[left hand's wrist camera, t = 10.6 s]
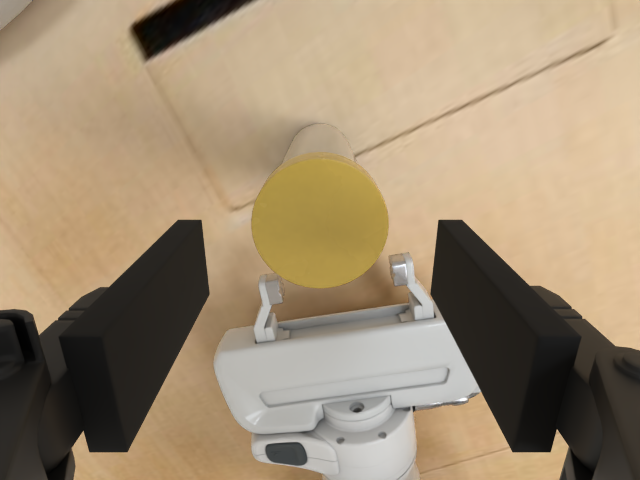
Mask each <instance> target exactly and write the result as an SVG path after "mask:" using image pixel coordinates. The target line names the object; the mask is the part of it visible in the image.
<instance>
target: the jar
mask: <svg viewBox="0 0 640 480" xmlns="http://www.w3.org/2000/svg"><path fill="white" fill-rule="evenodd" d="M311 152H329V153H334V154H338V155H341V156H344V157H346V158H348V159H351V160H352V161H354V162H356V163H357V164H358V162H357V160H356V158H355V156H354V154H353V152H352V149H351V147H350V145H349V143H348V141H347V139H346V137H345V136H344V135H343V133H342V132H341V131H339V130H338V129H337V128H335V127H333V126H331V125H328V124H320V123H319V124H312V125H309V126H307V127H305V128H303V129H302V130H301V131H299V132H298V133H297V135H296V136H295V137H294V139H293V141H292V143H291V145H290V147H289V149H288V151H287V154H286V156H285V158H284V160H283V162H282V164H283V163H284V162H286V161H288V160H290V159H291V158H293V157H296V156H299V155H301V154H306V153H311ZM282 164H281V165H282Z"/></svg>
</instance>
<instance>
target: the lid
mask: <svg viewBox="0 0 640 480" xmlns="http://www.w3.org/2000/svg"><path fill="white" fill-rule="evenodd" d="M251 226H252V235H253V239H254V243H255V246H256V248H257V250H258V252H259V254H260V256H261V257H262V259H263V260H264V261H265V263H266V264H267V265H268V266H269V267H270V268H271V269H272V270H273V271H274V272H275V273H276V274H278V275H279V276H280V277H282V278H284V279H286V280H287V281H289V282H292V283H294V284H297V285H300V286H304V287H309V288H331V287H336V286H340V285H343V284H346V283H348V282H350V281H353V280H355V279H356V278H358V277H359V276H361V275H362V274H363V273H365V272H366V271H367V270H368V269H369V268H370V267H371V266H372V265H373V264H374V263H375V261H376V260H377V259H378V257H379V256H380V254H381V252H382V250H383V248H384V245H385V243H386V239H387V235H388V227H389V223H388V212H387V208H386V204H385V201H384V199H383V197H382V195H381V193H380V191H379V189H378V187H377V185H376V184H375V182H374V181H373V179H372V177H371V176H370V175H369V174H368V173H367V172H366V170H364V169H363V168H362V167H361V166H360V165H359V164H357V163H356V162H354V161H352V160H351V159H348V158H346V157H344V156H341V155H338V154H334V153H329V152H311V153H306V154H301V155H299V156H296V157H293V158H291V159H290V160H288V161H286V162H284V163H283V164H282V165H280V166H279V167H278V168H277V169H276V170H275V171H273V173H272V174H271V175H270V176H269V177H268V179H267V180H266V182H265V184H264V185H263V187H262V189H261V191H260V193H259V195H258V197H257V199H256V201H255V204H254V208H253V211H252V219H251Z"/></svg>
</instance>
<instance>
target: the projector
mask: <svg viewBox="0 0 640 480" xmlns="http://www.w3.org/2000/svg"><path fill="white" fill-rule="evenodd" d="M32 1H33V0H0V30H1V29H3V28H4V27H5V26H6V25H7V24H8V23H9V22H11V21H12V20H13V19H14V18H15V17H16V16H17V15H19V14H20V13H21V12H22V11H23V10H24V9H25V8H26V7H27V6H28V5H29V4H30V3H31V2H32Z"/></svg>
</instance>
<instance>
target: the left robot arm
mask: <svg viewBox="0 0 640 480" xmlns="http://www.w3.org/2000/svg"><path fill="white" fill-rule="evenodd" d="M208 296H209V285H208V276H207V267H206V257H205V248H204V239H203V230H202V221H201V220H178V221H176V222H175V223H174V224H173V225H172V226H171V227H170V228H169V229H168V230H167V231H166V232H165V233H164V234H163V235H162V236H161V237H160V238H159V239H158V240H157V241H156V242H155V243H154V244H153V245H152V246H151V247H150V248H149V249H148V250H147V251H146V252H145V253H144V254H143V255H142V256H141V257H140V258H139V259H138V260H136V261H135V262H134V263H133V264H132V265H131V266H130V267H129V268H128V269H127V270H126V271H125V272H124V273H123V274H122V275H121V276H120V277H119V278H118V279H117V280H116V281H115V282H114V283H113V284H112V285H111V286H110V287H100V288H98V289H96V290H94V291H92V292H90V293H88V294H86V295H84V296H83V297H81V298H80V299H79V300H78V301H77V302H75V303H74V304H73V305H72V306H71V307H70V308H69V311H65V312H64V313H63V314H62V315H61V316H60V317H59V318H58V321H54V322H53V323H52V324H51V325H50V326H49V327H48V328H47V329H46V330H44V331H43V332H42V333H41V334H40V335H39V334H38V331H37V327H36V324H35V321H34V317H33V315H32V314H31V313H29V312H28V311H25V310H17V309H11V310H0V480H73V478H74V472H75V460H74V455H73V452H72V446H73V445H74V443H75V442H76V440H77V439H78V438H79V436H80V435H81V433H82V432H83V430H84V434H85V437H86V441H87V445H88V449H89V452H128V450H129V448H130V446H131V444H132V442H133V440H134V438H135V436H136V434H137V433H138V431H139V429H140V427H141V425H142V423H143V421H144V419H145V417H146V415H147V413H148V411H149V409H150V408H151V406H152V404H153V402H154V400H155V398H156V396H157V394H158V392H159V390H160V388H161V386H162V384H163V383H164V381H165V379H166V377H167V375H168V373H169V371H170V369H171V367H172V365H173V363H174V361H175V359H176V358H177V356H178V354H179V352H180V350H181V348H182V346H183V344H184V342H185V340H186V338H187V336H188V334H189V333H190V331H191V329H192V327H193V325H194V323H195V321H196V319H197V317H198V315H199V313H200V311H201V309H202V308H203V306H204V304H205V302H206V300H207V298H208ZM431 296H432V298H433V300H434V302H435V304H436V306H437V308H438V309H439V311H440V313H441V315H442V317H443V319H444V321H445V323H446V325H447V327H448V329H449V331H450V333H451V334H452V336H453V338H454V340H455V342H456V344H457V346H458V348H459V350H460V352H461V354H462V356H463V358H464V359H465V361H466V363H467V365H468V367H469V369H470V371H471V373H472V375H473V377H474V379H475V381H476V383H477V384H478V386H479V388H480V390H481V392H482V394H483V396H484V398H485V400H486V402H487V404H488V406H489V408H490V409H491V411H492V413H493V415H494V417H495V419H496V421H497V423H498V425H499V427H500V429H501V431H502V433H503V434H504V436H505V438H506V440H507V442H508V444H509V446H510V448H511V450H512V452H551V449H552V445H553V441H554V437H555V434H556V430H557V429H558V431H559V432H560V434H561V435H562V437H563V438H564V440H565V441H566V443H567V444H568V446H569V448H568V452H567V455H566V459H565V462H564V466H563V469H562V472H561V476H560V479H559V480H640V351H639V350H635V349H632V348H626V347H617V346H615V345H613V344H612V343H611V342H610V341H609V340H608V339H607V338H606V337H605V336H603V335H602V334H601V333H600V332H599V331H598V330H597V329H596V328H594V327H593V326H592V325H591V324H590V323H589V322H588V321H587V320H586V319H582V316H581V315H580V314H579V313H578V312H577V311H576V310H574V309H572V308H571V306H570V305H569V304H568V303H567V302H565V301H564V300H563V299H562V298H561V297H560V296H559V295H557V294H555V293H553V292H551V291H549V290H547V289H545V288H543V287H541V286H529V285H528V284H527V283H526V282H525V281H524V280H523V279H522V278H521V277H520V276H519V275H518V274H517V273H516V272H515V271H514V270H513V269H512V268H511V267H510V266H509V265H508V264H507V263H506V262H505V261H504V260H503V259H501V258H500V257H499V256H498V255H497V254H496V253H495V252H494V251H493V250H492V249H491V248H490V247H489V246H488V245H487V244H486V243H485V242H484V241H483V240H482V239H481V238H480V237H479V236H478V235H477V234H476V233H475V232H474V231H473V230H472V229H471V228H470V227H469V226H468V225H467V224H466V223H465V222H464V221H463V220H439V221H438V230H437V239H436V248H435V257H434V267H433V276H432V285H431Z"/></svg>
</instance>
